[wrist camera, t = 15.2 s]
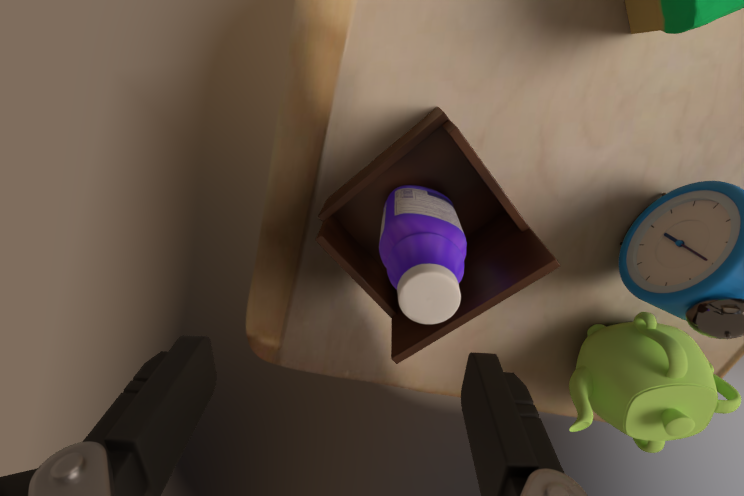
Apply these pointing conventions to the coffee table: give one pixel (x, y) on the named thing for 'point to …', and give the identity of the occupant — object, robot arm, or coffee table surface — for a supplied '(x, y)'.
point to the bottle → (423, 252)
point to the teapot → (647, 382)
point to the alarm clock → (691, 257)
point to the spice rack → (473, 208)
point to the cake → (676, 14)
